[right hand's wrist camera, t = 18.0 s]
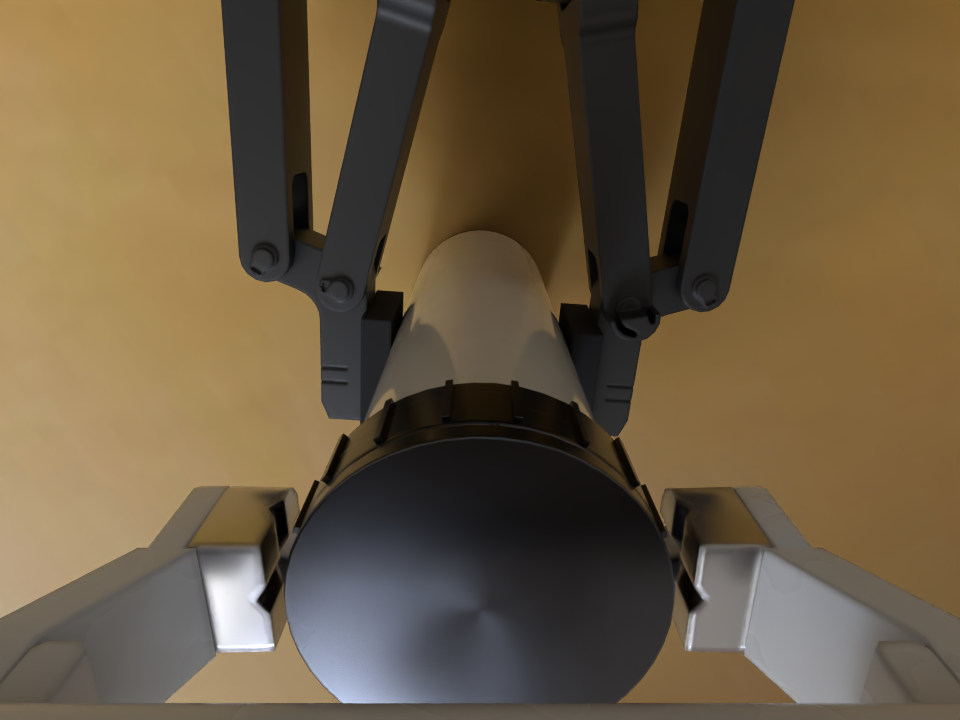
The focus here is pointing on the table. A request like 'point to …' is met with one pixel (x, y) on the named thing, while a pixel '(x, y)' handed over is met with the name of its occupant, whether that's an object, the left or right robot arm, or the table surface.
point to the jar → (479, 325)
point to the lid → (479, 556)
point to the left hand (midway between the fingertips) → (467, 514)
